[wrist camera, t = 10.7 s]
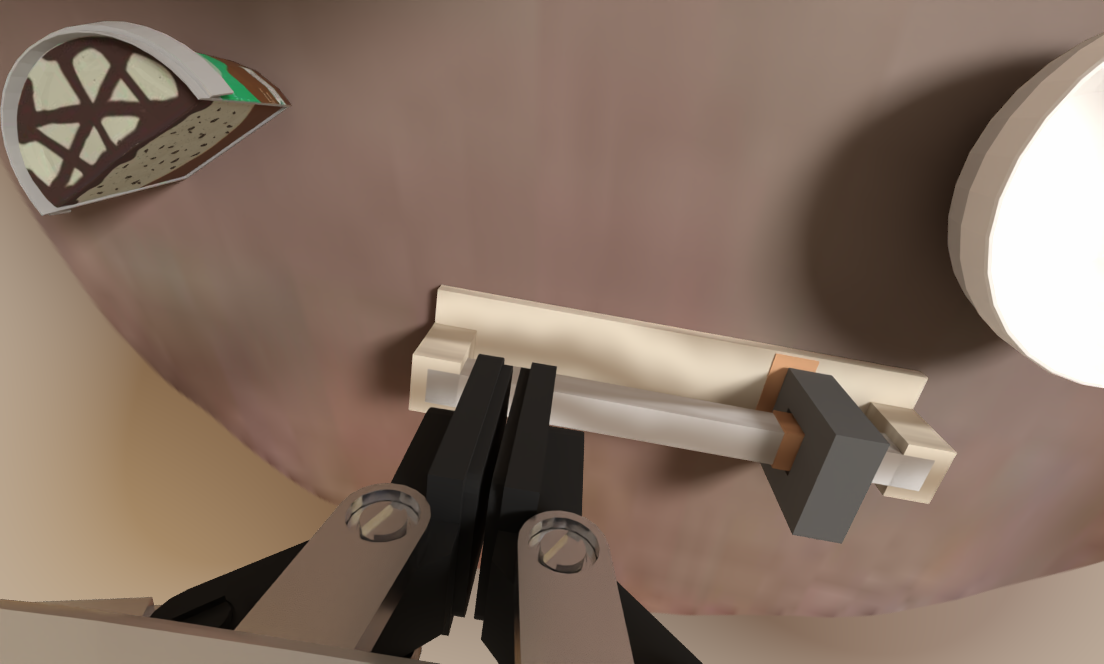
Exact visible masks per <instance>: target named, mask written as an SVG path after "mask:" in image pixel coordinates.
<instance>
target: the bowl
mask: <svg viewBox="0 0 1104 664" xmlns="http://www.w3.org/2000/svg"><path fill="white" fill-rule="evenodd" d="M948 249H949V254H950V259H951V263H952V268H953V272H954V274H955V276H956V278H957V280H958V282H959V284H960V286H961V288H962V290H963V292H964V294H965V296H966V297H967V298H968V300H969V301H970V302H971V304H972V305H973V306H974V307H975V309H976V310H977V312H978V314H979V315H980V316H981V317H982V319H983V320H984V321H985V322H986V323H987V324H988V325H989V327H990V328H991V329H992V330H993V331H994V332H995V333H996V334H997V335H998V336H999V337H1000V338H1001V339H1003V340H1004V341H1005V342H1007V343H1008V344H1009V345H1011V346H1012V347H1013V348H1014V349H1016V350H1017V351H1018V352H1020V353H1021V354H1022V355H1024V356H1025V357H1027V358H1028V359H1030V360H1031V361H1033V362H1034V363H1036V364H1037V365H1038V366H1040V367H1041V368H1043V369H1044V370H1046V371H1047V372H1049V373H1052V374H1054V375H1057V376H1059V377H1062V378H1065V379H1067V380H1070V381H1072V382H1075V383H1078V384H1082V385H1088V386H1094V387H1100V388H1104V32H1103V33H1101V34H1099V35H1096V36H1094V37H1092V38H1090V39H1087V40H1085V41H1084V42H1082V43H1080V44H1079V45H1077V46H1076V47H1074V48H1072V49H1071V50H1069V51H1068V52H1066V53H1064V54H1063V55H1061V56H1060V57H1058V58H1056V59H1055V60H1053V61H1052V62H1050V63H1049V64H1047V65H1046V66H1045V67H1044V68H1043V69H1041V70H1040V71H1039V72H1038V73H1037V74H1036V75H1034V76H1033V77H1032V78H1031V79H1030V80H1028V81H1027V82H1026V83H1025V84H1024V85H1023V86H1021V87H1020V88H1019V89H1018V90H1017V91H1016V92H1015V93H1014V94H1013V95H1012V96H1011V98H1010V99H1009V100H1008V101H1007V102H1006V103H1005V104H1004V106H1003V107H1002V108H1001V109H1000V110H999V111H998V112H997V113H996V115H995V116H994V117H993V118H992V119H991V120H990V122H989V123H988V125H987V126H986V128H985V129H984V131H983V132H982V134H981V136H980V137H979V139H978V140H977V142H976V143H975V145H974V146H973V148H972V150H971V151H970V153H969V155H968V157H967V160H966V162H965V164H964V167H963V169H962V171H961V173H960V176H959V178H958V180H957V183H956V185H955V189H954V194H953V198H952V202H951V207H950V211H949V215H948Z"/></svg>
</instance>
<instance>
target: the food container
mask: <svg viewBox="0 0 1104 664" xmlns="http://www.w3.org/2000/svg"><path fill="white" fill-rule="evenodd" d="M290 106H292V105H291V104H290V102H289V101H288V100H287V99H286V97H285V96H284V95H283V94H282V92H281V91H280V90H279V89H278V88H277V87H276V86H275V85H273V84H272V83H271V82H270V81H269V80H267V79H266V78H265V77H264V76H262V75H261V74H260V73H259V72H257V71H255V70H253V69H250V68H248V67H246V66H243V65H241V64H239V63H236V62H234V61H230V60H226V59H221V58H217V57H213V56H209V55H204V54H200V53H196V52H194V51H192V50H191V49H190V48H189V47H187V46H186V45H184V44H183V43H181V42H179V41H177V40H175V39H174V38H172V37H170V36H168V35H167V34H164V33H162V32H159V31H157V30H154V29H152V28H149V27H146V26H142V25H138V24H133V23H129V22H117V21H103V22H97V23H90V24H84V25H78V26H72V27H66V28H64V29H61V30H58V31H56V32H53V33H51V34H49V35H47V36H46V37H44V38H43V39H41V40H39V41H38V42H36V43H35V44H33V45H32V46H30V47H29V48H27V49H26V51H25V52H24V53H23V54H22V55H21V56H20V57H19V58H18V59H17V60H16V62H15V64H14V65H13V67H12V69H11V71H10V73H9V74H8V77H7V80H6V83H5V86H4V89H3V94H2V102H1V129H2V134H3V139H4V145H5V149H6V152H7V155H8V158H9V161H10V164H11V166H12V168H13V170H14V173H15V175H16V177H17V179H18V181H19V183H20V185H21V186H22V188H23V190H24V191H25V193H26V194H27V196H28V198H29V199H30V201H31V202H32V203H33V205H34V206H35V207H36V209H37V210H38V211H39V212H40V214H41V215H47V214H49V215H57V214H64V213H70V212H71V210H70V209H71V208H75V207H79V206H83V205H87V204H91V203H95V202H98V201H102V200H106V199H110V198H114V197H118V196H122V195H126V194H130V193H134V192H137V191H141V190H145V189H149V188H153V187H157V186H161V185H165V184H169V183H172V182H176V181H180V180H184V179H187V178H188V177H190V176H191V175H193V174H194V173H196V172H197V171H198V170H200V169H201V168H203V167H204V166H206V165H207V164H208V163H210V162H211V161H213V160H214V159H216V158H217V157H219V156H220V155H221V154H223V153H224V152H226V151H227V150H229V149H230V148H231V147H233V146H234V145H236V144H237V143H239V142H240V141H241V140H243V139H244V138H246V137H247V136H249V135H250V134H251V133H253V132H254V131H256V130H257V129H259V128H260V127H261V126H263V125H264V124H266V123H267V122H269V121H270V120H272V119H273V118H274V117H276V116H277V115H279V114H280V113H282V112H283V111H284V110H286V109H287V108H289V107H290Z"/></svg>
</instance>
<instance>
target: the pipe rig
mask: <svg viewBox="0 0 1104 664" xmlns="http://www.w3.org/2000/svg"><path fill="white" fill-rule="evenodd" d="M479 354H484V355H490V356H497V357H503V358H505V362H504V365H510V366H513V374H512V382H511V390H510V397H509V405H508V413H507V417H508V416H509V412H510V408H511V404H512V400H513V396H514V392H515V388H516V385H517V381H518V377H519V373H520V369H521V367H523V368H529V369H531V365H532V362H534V363H540V364H546V365H552V366H557V370H556V378H555V385H554V393H553V400H552V408H551V415H550V422H549V424H550V425H556V426H561V427H567V428H572V429H578V430H583V431H589V432H594V433H600V434H605V435H611V436H616V437H622V438H627V439H633V440H638V441H644V442H649V443H655V444H661V445H666V446H672V447H677V448H683V449H688V450H694V451H699V452H705V453H710V454H716V455H721V456H727V457H732V458H738V459H743V460H749V461H755V462H760V463H766V464H771V467H772V468H775V469H780V470H786V471H790V470H791V467H792V465H793V462H794V460H795V457H796V455H797V453H798V450H799V448H800V445H801V443H802V441H803V438H804V436H805V434H804V432H803V431H802V429H801V427H800V426H799V424H798V422H797V421H796V419H795V418H794V416H793V414H792V413H787V412H781V411H776V410H773V408H774V405H775V403H776V400H777V398H778V395H779V392H780V390H781V387H782V384H783V382H784V379H785V376H786V374H787V371H788V368H794V369H799V370H805V371H810V372H816V373H821V374H827V375H832V376H833V377H834V378H835V380H836V381H837V382H838V383H839V384H840V385H841V387H842V388H843V389H844V390H845V391H846V393H847V394H848V395H849V396H850V397H851V399H852V400H853V401H854V402H855V403H856V404H857V406H858V407H859V408H860V409H861V410H862V412H863V413H864V414H865V415H866V416H867V418H868V419H869V420H870V421H871V422H872V423H873V425H874V426H875V427H876V428H877V429H878V431H879V432H880V433H881V434H882V435H883V437H884V438H885V439H886V440H887V441H888V442H889V444H890V446H889V448H888V450H887V452H886V454H885V456H884V458H883V460H882V462H881V464H880V466H879V468H878V470H877V473H876V475H875V477H874V479H873V481H872V483H874V484H875V485H876V486H877V488H878V489H879V491H880V492H881V493H882V495H883V496H888V497H894V498H899V499H905V500H910V501H916V502H921V503H927V504H929V503H930V501H931V499H932V497H933V496H934V494H935V492H936V490H937V488H938V486H939V485H940V483H941V481H942V479H943V477H944V476H945V474H946V472H947V470H948V468H949V466H950V465H951V463H952V461H953V459H954V457H955V456H956V454H957V453H956V452H955V451H954V450H953V449H952V448H951V447H950V446H949V445H948V444H947V443H946V442H945V441H944V440H943V439H942V438H941V437H940V436H939V435H938V434H937V433H936V432H935V431H934V430H933V429H932V428H931V427H930V426H929V425H928V424H927V423H926V422H925V421H924V420H923V419H922V418H921V417H920V416H919V415H918V414H917V413H916V412H915V411H914V410H913V408H914V406H915V404H916V402H917V400H918V398H919V396H920V394H921V392H922V390H923V388H924V386H925V384H926V382H927V380H928V378H927V377H926V376H925V375H924V374H923V373H922V372H920V371H915V370H909V369H904V368H898V367H893V366H887V365H882V364H876V363H871V362H865V361H860V360H854V359H849V358H843V357H837V356H832V355H826V354H821V353H815V352H810V351H804V350H799V349H793V348H788V347H782V346H777V345H771V344H766V343H760V342H755V341H749V340H744V339H738V338H733V337H727V336H721V335H716V334H710V333H705V332H699V331H694V330H688V329H683V328H677V327H672V326H666V325H661V324H655V323H650V322H644V321H639V320H633V319H628V318H622V317H617V316H611V315H606V314H600V313H594V312H589V311H583V310H578V309H572V308H567V307H561V306H556V305H550V304H545V303H539V302H534V301H528V300H523V299H517V298H512V297H506V296H501V295H495V294H490V293H484V292H479V291H473V290H467V289H462V288H456V287H451V286H445V285H441V286H440V287H439V289H438V293H437V305H436V316H435V323H434V325H433V326H432V328H431V329H430V330H429V332H428V333H427V335H426V336H425V338H424V339H423V341H422V342H421V343H420V345H419V346H418V348H417V349H416V351H415V352H414V353H413V358H412V371H411V385H410V399H409V410H413V411H419V412H424V413H426V412H427V411H428V409H429V408H430V407H435V408H441V409H447V410H453V411H455V409H456V406H457V404H458V402H459V399H460V397H461V395H462V392H463V390H464V387H465V385H466V383H467V380H468V378H469V376H470V373H471V371H472V368H473V366H474V364H475V361H476V359H477V357H478V355H479ZM772 411H773V413H772Z"/></svg>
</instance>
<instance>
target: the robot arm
mask: <svg viewBox="0 0 1104 664" xmlns="http://www.w3.org/2000/svg"><path fill="white" fill-rule="evenodd" d="M504 362H505V358H503V357H497V356H490V355H484V354H479V355H478V357H477V359H476V361H475V364H474V366H473V368H472V371H471V373H470V376H469V378H468V380H467V383H466V385H465V387H464V390H463V392H462V395H461V397H460V399H459V402H458V404H457V406H456V409H455V411H453V410H447V409H441V408H435V407H430V408H429V409H428V411H427V412H426V414H425V416H424V418H423V420H422V422H421V424H420V426H419V428H418V430H417V432H416V434H415V436H414V438H413V440H412V442H411V444H410V446H409V448H408V450H407V452H406V454H405V456H404V458H403V460H402V462H401V464H400V466H399V468H398V470H397V472H396V474H395V476H394V478H393V480H392V482H391V483H385V484H375V485H371V486H367V487H364V488H362V489H360V490H358V491H356V492H354V493H352V494H350V495H349V496H348V497H347V498H346V499H345V500H344V501H342V502H341V504H340V505H339V506H338V507H337V508H336V510H335V511H334V512H333V513H332V514H331V516H330V517H329V518H328V519H327V520H326V521H325V523H324V524H323V525H322V526H321V527H320V528H319V530H318V531H317V532H316V533H315V534H314V536H313V537H312V538H311V539H310V540H308V541H306V542H303V543H301V544H298V545H296V546H294V547H291V548H288V549H286V550H284V551H281V552H279V553H276V554H274V555H271V556H269V557H266V558H264V559H261V560H259V561H257V562H254V563H252V564H249V565H247V566H244V567H242V568H239V569H237V570H235V571H232V572H230V573H227V574H225V575H222V576H220V577H217V578H215V579H212V580H210V581H207V582H205V583H203V584H200V585H198V586H195V587H193V588H190V589H188V590H186V591H185V592H182V593H180V594H179V595H176V596H174V597H172V598H171V599H169V600H168V601H167V602H165V603H164V604H163V605H154V603H153V599H152V597H145V598H121V599H98V600H97V599H96V600H71V601H46V602H24V601H14V600H5V599H0V664H438V663H432V662H426V661H420V660H419V658H420V655H421V651H422V646H423V645H424V644H426V643H427V642H429V641H431V640H432V639H434V638H436V637H438V636H439V635H441V634H442V635H447V636H448V635H449V632H450V628H451V624H452V621H453V617H454V616H459V617H465V614H466V611H467V606H468V603H469V599H470V594H471V590H472V586H473V582H474V578H475V574H476V570H477V566H478V561H479V557H480V553H481V549H482V545H483V550H482V558H481V566H480V574H479V583H478V590H477V598H476V606H475V614H474V619H477V620H483V629H482V637H481V640H482V641H483V643H484V644H485V645H486V647H487V648H488V649H489V651H490V652H491V653H492V655H493V656H494V657H495V659H496V660H497V662H498V664H702V662H700V661H699V660H698V659H697V658H696V657H695V656H694V655H693V654H692V653H691V652H690V651H689V650H688V649H687V648H686V647H685V646H684V645H683V644H682V643H681V642H680V641H679V640H677V638H675V637H674V636H673V635H672V634H671V633H670V632H669V631H668V630H667V629H666V628H665V627H664V626H663V625H662V624H661V623H660V622H659V621H658V620H657V619H656V618H655V617H654V616H653V615H652V614H650V613H649V612H648V611H647V610H646V609H645V608H644V607H643V606H642V605H641V604H640V603H639V602H638V601H637V600H636V599H635V598H634V597H633V596H632V595H631V594H630V593H629V592H628V591H627V590H625V589H624V588H623V587H622V586H621V585H620V584H619V583H618V582H617V581H616V577H615V572H614V568H613V563H612V558H611V554H610V549H609V545H608V543H607V540H606V538H605V535H604V534H603V533H602V532H601V530H600V529H599V528H598V527H597V526H596V525H595V524H593V523H592V522H591V521H589V520H588V519H586V518H585V517H582V492H583V462H584V432H582V431H576V430H570V429H564V428H558V427H552V426H549V422H550V415H551V408H552V400H553V393H554V385H555V378H556V370H557V366H552V365H546V364H540V363H534V362H532V365H531V369H529V368H523V367H521V369H520V373H519V377H518V381H517V385H516V388H515V392H514V396H513V400H512V404H511V408H510V412H509V416H508V419H507V413H508V405H509V397H510V390H511V382H512V374H513V366H510V365H504ZM506 420H507V423H506ZM483 541H484V542H483Z"/></svg>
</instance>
